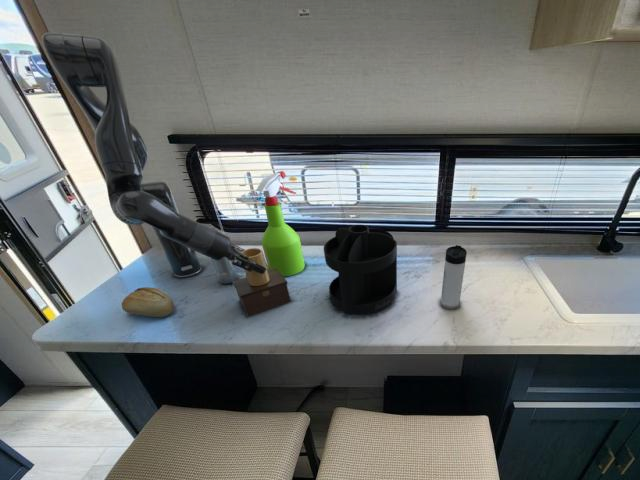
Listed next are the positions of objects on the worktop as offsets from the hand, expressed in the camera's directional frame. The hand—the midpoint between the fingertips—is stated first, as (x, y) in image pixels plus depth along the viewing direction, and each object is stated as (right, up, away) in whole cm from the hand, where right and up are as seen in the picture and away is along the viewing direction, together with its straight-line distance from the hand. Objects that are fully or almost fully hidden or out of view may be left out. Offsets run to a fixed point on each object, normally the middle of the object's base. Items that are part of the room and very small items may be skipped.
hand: (260, 266), depth 99 cm
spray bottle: (0, +3, +27) cm, 27 cm away
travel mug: (+61, -12, +7) cm, 62 cm away
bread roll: (-35, -15, +2) cm, 38 cm away
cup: (-1, -4, +2) cm, 5 cm away
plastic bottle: (-20, -4, +17) cm, 26 cm away
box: (-1, -11, +7) cm, 13 cm away
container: (+31, -10, +9) cm, 34 cm away
